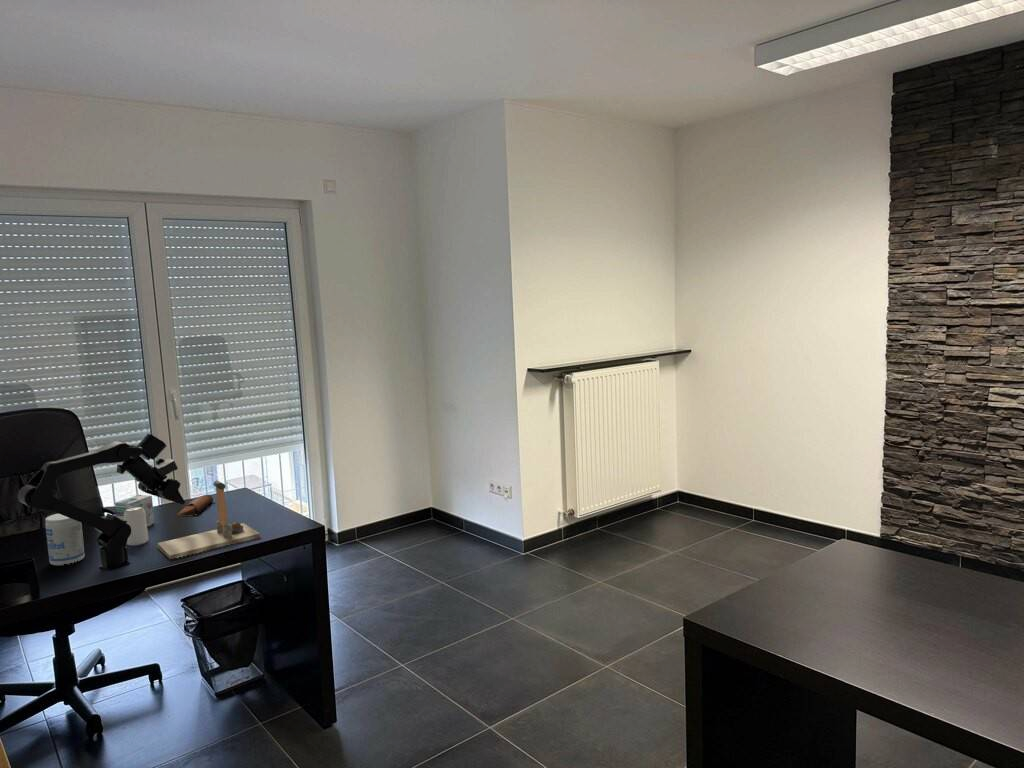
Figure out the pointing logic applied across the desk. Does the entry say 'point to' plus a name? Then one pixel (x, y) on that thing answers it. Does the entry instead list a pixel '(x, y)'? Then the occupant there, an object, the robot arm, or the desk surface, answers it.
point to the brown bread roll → (196, 505)
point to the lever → (221, 502)
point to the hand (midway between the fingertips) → (177, 501)
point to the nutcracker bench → (208, 540)
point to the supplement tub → (64, 540)
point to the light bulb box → (136, 501)
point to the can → (136, 525)
